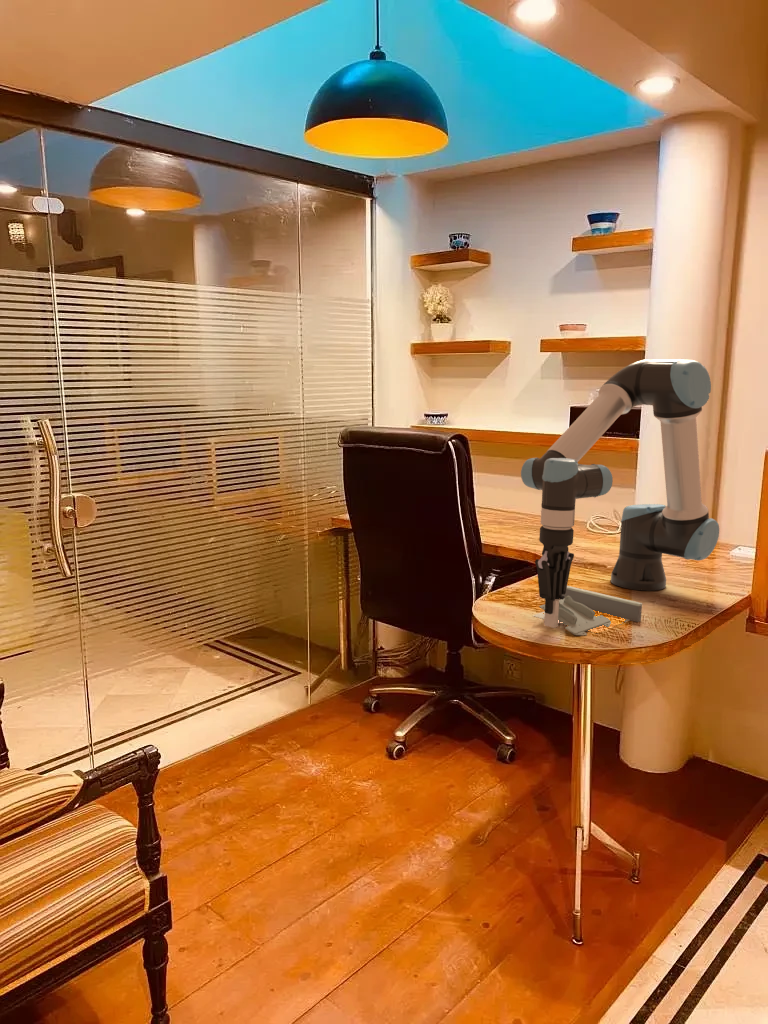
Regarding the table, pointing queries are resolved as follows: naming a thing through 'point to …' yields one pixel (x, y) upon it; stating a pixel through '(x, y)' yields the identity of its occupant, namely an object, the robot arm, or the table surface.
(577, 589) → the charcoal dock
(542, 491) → the robot arm
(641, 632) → the table surface
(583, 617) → the metal bracket
